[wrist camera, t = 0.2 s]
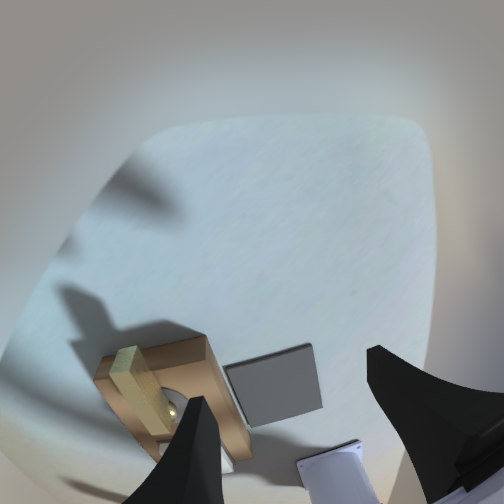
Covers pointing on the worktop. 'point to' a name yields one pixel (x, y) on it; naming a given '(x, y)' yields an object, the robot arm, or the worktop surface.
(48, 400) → the worktop surface
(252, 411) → the mat
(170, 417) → the lever handle
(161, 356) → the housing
